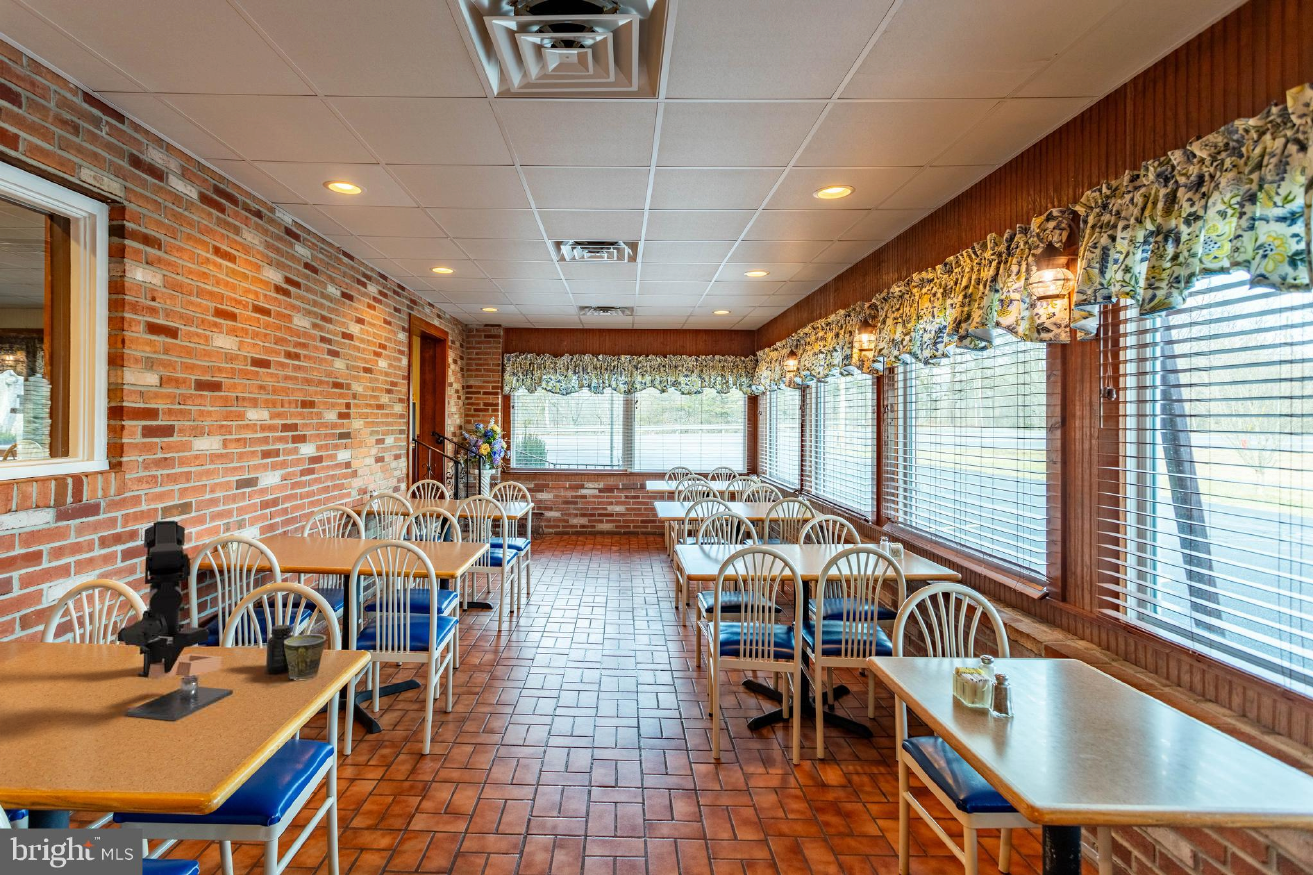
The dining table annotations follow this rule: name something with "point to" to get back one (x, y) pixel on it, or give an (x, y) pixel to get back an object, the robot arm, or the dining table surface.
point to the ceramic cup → (304, 655)
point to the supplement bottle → (277, 649)
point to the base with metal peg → (180, 701)
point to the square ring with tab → (186, 666)
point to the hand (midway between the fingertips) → (162, 671)
